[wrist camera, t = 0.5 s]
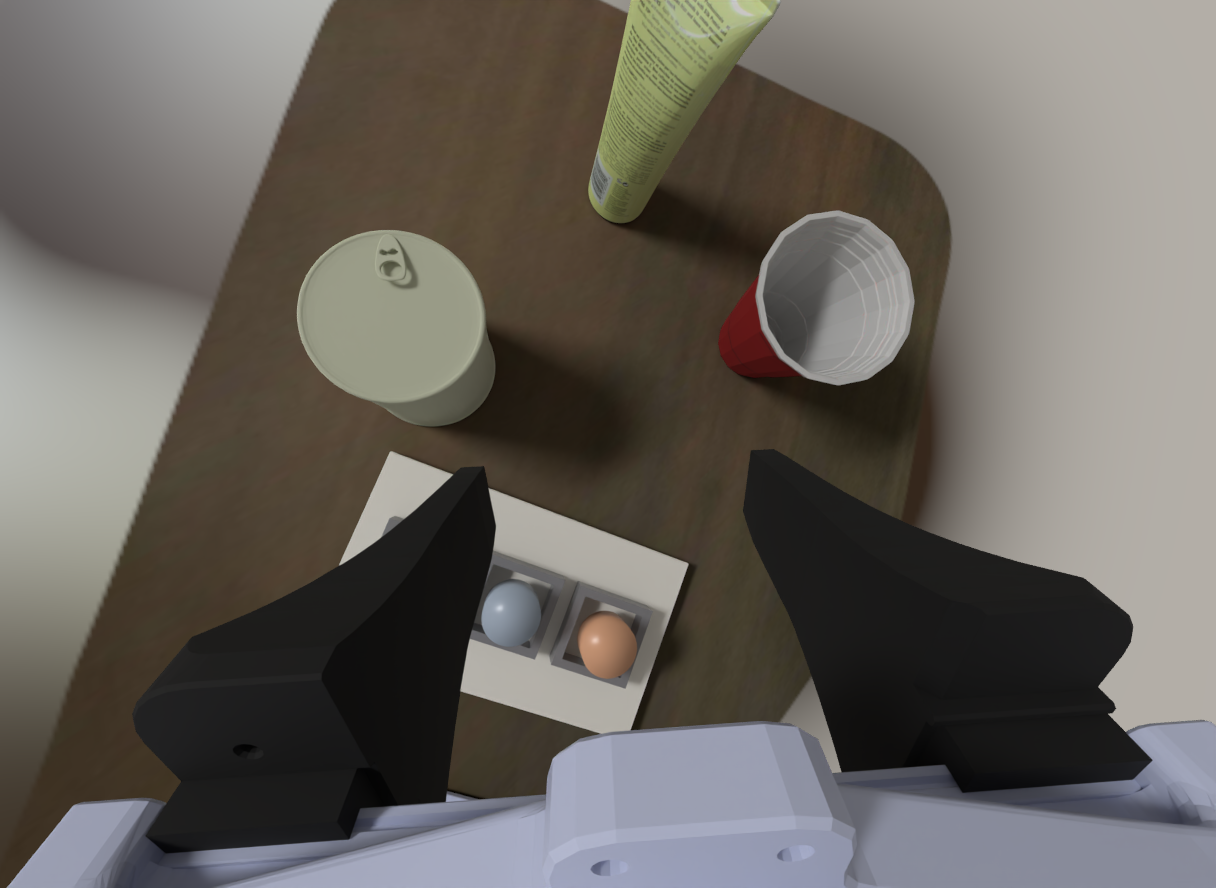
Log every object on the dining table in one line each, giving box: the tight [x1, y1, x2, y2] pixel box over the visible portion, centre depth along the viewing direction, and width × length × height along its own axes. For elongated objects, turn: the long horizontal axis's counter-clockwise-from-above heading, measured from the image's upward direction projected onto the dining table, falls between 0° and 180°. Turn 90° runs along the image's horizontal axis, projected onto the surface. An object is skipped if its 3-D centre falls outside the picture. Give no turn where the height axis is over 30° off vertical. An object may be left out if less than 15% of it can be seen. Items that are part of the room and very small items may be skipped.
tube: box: [588, 0, 781, 223], centre depth 29 cm, size 6×5×20 cm
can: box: [297, 230, 495, 426], centre depth 29 cm, size 9×9×12 cm
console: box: [339, 451, 688, 734], centre depth 34 cm, size 14×24×3 cm, turn 69°
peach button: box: [577, 611, 637, 679], centre depth 33 cm, size 4×4×2 cm
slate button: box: [481, 579, 541, 647], centre depth 32 cm, size 4×4×2 cm
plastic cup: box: [718, 211, 914, 385], centre depth 35 cm, size 11×11×12 cm
